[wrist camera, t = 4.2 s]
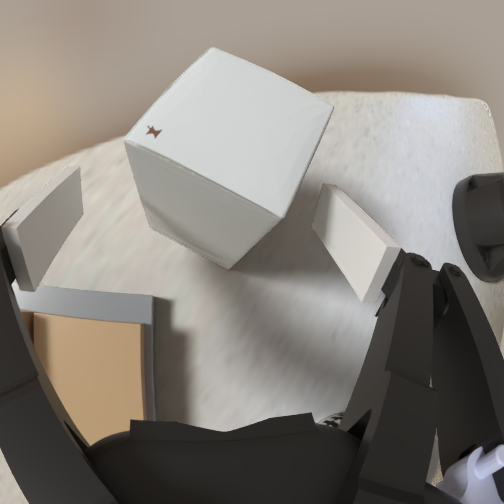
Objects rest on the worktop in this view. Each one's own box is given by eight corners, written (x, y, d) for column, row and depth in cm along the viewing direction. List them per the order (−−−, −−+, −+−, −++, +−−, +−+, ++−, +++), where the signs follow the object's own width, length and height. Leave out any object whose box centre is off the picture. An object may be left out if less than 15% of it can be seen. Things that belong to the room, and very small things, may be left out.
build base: (154, 296, 21) (144, 290, 15) (160, 462, 18) (156, 500, 12) (-36, 275, 16) (-73, 265, 11) (-27, 416, 14) (-59, 430, 8)
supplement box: (229, 273, 23) (284, 226, 11) (146, 227, 22) (115, 137, 10) (269, 196, 25) (340, 105, 13) (193, 156, 24) (210, 41, 12)
